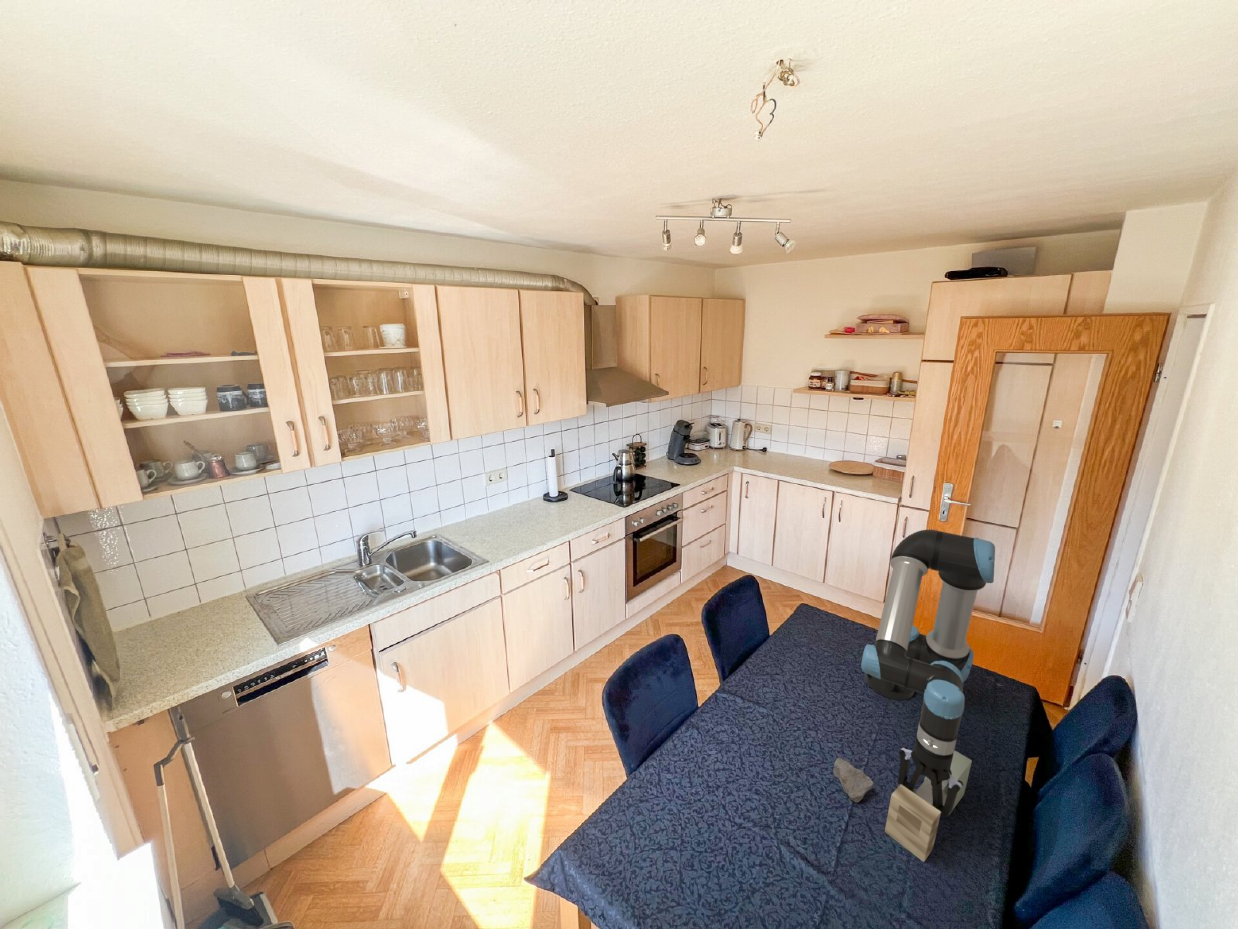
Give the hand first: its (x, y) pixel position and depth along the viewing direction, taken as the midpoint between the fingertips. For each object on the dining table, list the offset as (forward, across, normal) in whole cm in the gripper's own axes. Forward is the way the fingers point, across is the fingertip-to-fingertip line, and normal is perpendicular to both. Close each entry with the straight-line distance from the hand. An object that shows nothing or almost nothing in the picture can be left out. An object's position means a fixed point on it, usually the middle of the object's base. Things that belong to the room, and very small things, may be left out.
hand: (919, 820), depth 121 cm
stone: (+3, -16, -2) cm, 17 cm away
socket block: (+3, 0, -5) cm, 6 cm away
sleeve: (+3, 0, +15) cm, 15 cm away
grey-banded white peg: (-3, 0, +4) cm, 5 cm away
